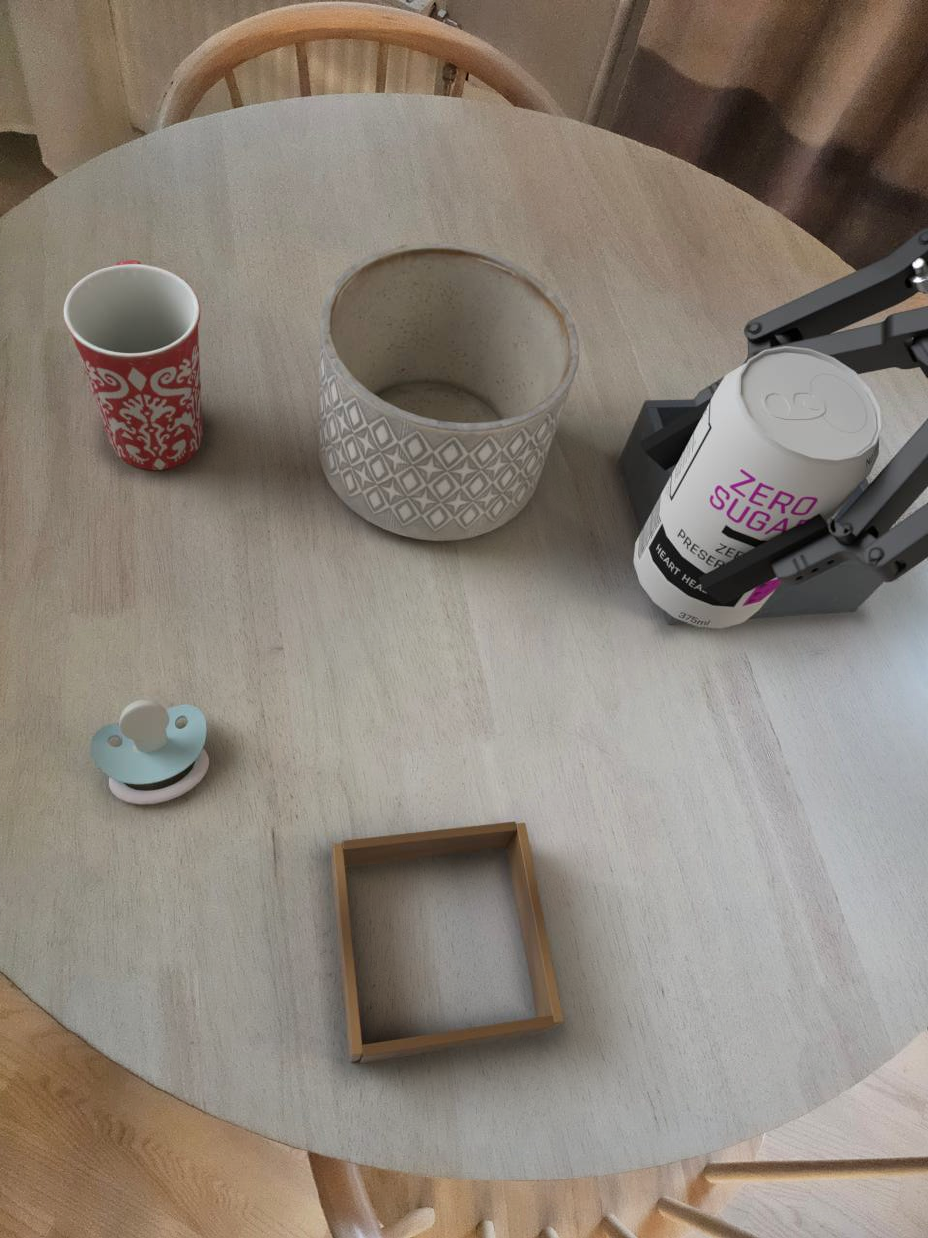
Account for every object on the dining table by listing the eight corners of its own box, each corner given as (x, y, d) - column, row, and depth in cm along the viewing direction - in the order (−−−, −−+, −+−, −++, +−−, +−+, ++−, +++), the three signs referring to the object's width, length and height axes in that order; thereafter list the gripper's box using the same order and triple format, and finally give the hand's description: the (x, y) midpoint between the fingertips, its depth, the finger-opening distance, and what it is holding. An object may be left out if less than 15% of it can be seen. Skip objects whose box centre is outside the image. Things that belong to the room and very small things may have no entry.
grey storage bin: (854, 611, 78) (904, 561, 72) (667, 625, 75) (701, 573, 68) (790, 454, 86) (829, 396, 80) (618, 460, 83) (645, 399, 76)
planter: (360, 576, 73) (371, 455, 61) (289, 399, 81) (286, 260, 68) (573, 521, 79) (623, 401, 66) (487, 361, 87) (518, 227, 74)
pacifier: (223, 787, 63) (200, 708, 66) (216, 754, 58) (192, 669, 60) (110, 821, 61) (91, 738, 63) (92, 791, 56) (72, 701, 58)
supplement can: (737, 514, 60) (856, 335, 47) (780, 629, 56) (922, 467, 43) (615, 522, 58) (704, 338, 45) (651, 640, 54) (759, 475, 41)
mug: (220, 476, 76) (205, 351, 64) (100, 485, 74) (63, 357, 62) (207, 361, 82) (191, 227, 70) (96, 366, 80) (61, 229, 68)
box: (549, 1033, 58) (564, 1024, 55) (349, 1065, 56) (352, 1058, 52) (513, 838, 64) (524, 820, 61) (330, 859, 62) (332, 841, 58)
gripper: (1291, 484, 39) (780, 710, 49) (1028, 159, 49) (645, 403, 58) (1312, 406, 33) (727, 681, 43) (1009, 54, 43) (587, 345, 53)
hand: (681, 521), depth 51 cm, fingers closed on supplement can, 8 cm apart
